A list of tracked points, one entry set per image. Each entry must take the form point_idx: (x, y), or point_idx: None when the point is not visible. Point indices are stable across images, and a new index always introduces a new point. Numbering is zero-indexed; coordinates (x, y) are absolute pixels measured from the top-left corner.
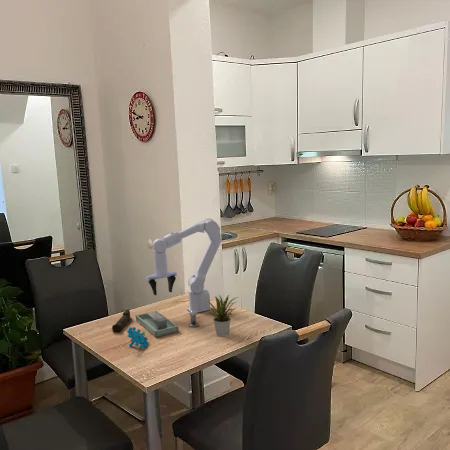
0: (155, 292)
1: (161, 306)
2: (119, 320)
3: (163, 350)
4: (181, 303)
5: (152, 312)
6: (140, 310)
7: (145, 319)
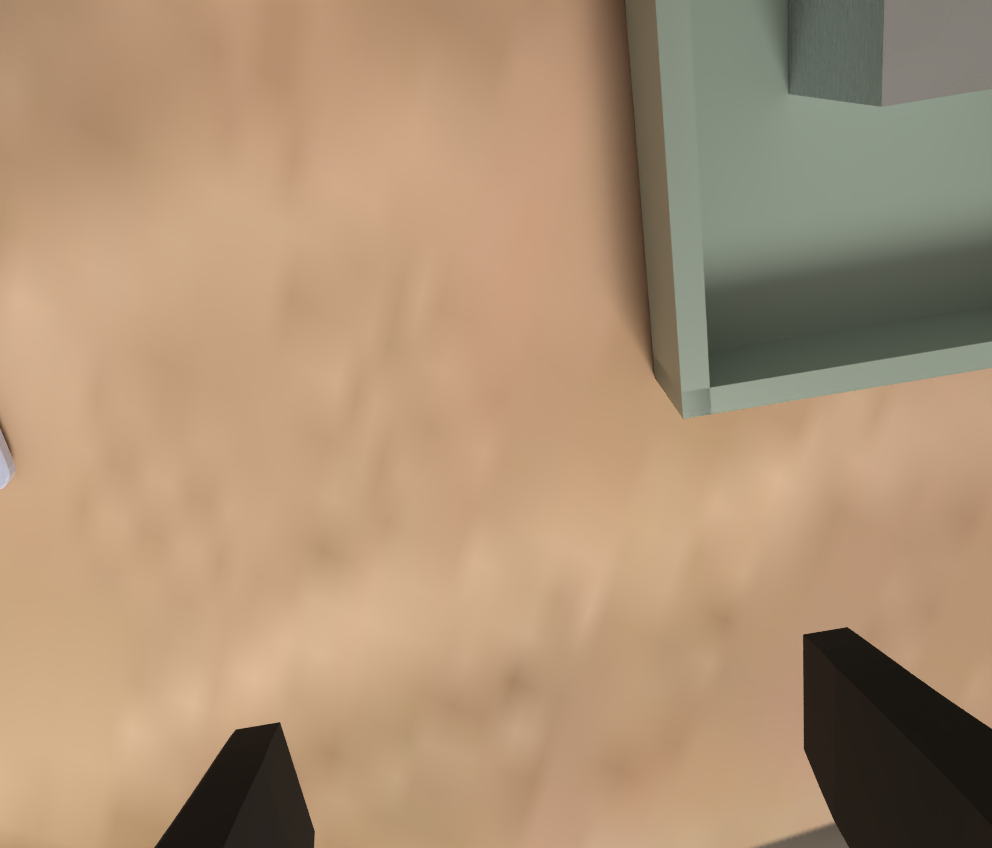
0: (901, 676)
1: (448, 788)
2: None
3: None
4: (84, 797)
5: (972, 36)
6: None
7: (948, 224)
